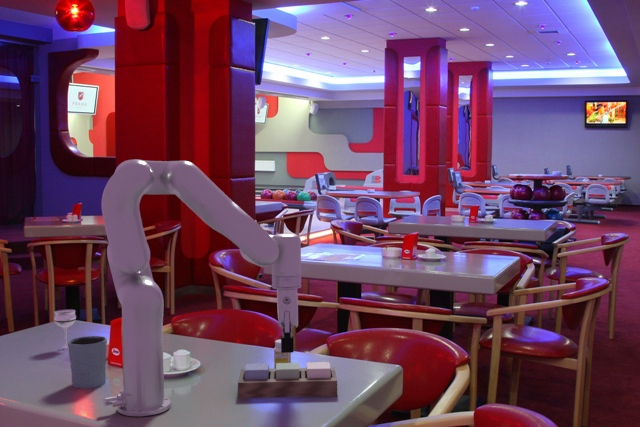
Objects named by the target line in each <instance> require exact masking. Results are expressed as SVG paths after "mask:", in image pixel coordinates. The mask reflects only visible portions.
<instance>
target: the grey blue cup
mask: <svg viewBox="0 0 640 427" xmlns="http://www.w3.org/2000/svg"><path fill="white" fill-rule="evenodd" d="M107 345H108V338H107V337H105V336H99V335H95V336H94V335H92V336H91V335H90V336H81V337H79V336H78V337H75V338H72V339H70V340H68V341H67V346H68V349H69V350H68V356H69V363H70V369H71V371H70V372H71V383H72V387H73V388H76V389H82V390H83V389H84V390H85V389H95V388H99V387H102V386H103V385H105V384H106V380H107V379H106V378H107V377H106V376H107V374H106V368H107V367H106V365H107V362H106V360H107Z"/></svg>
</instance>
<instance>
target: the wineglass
mask: <svg viewBox="0 0 640 427" xmlns="http://www.w3.org/2000/svg"><path fill="white" fill-rule="evenodd" d="M53 313H54V316H53V319H54V320H53V321H54V323H55V324H56V325H57V326H58V327H61V328H62V329H63V330H64V345H63V346H62V347H63V348H67V347H68V341H67V340H68V339H67V335H68V334H67V333H68V331H67V330H68V329H69V327H71V326H73V324H75V322H76V320H77V315H76V310H75V309H72V308H71V309H68V308H67V309H59V310H55V311H53Z"/></svg>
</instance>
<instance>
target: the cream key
mask: <svg viewBox="0 0 640 427" xmlns="http://www.w3.org/2000/svg"><path fill="white" fill-rule="evenodd" d="M330 367H331V365H330V362H329V361H323V362H321V361H320V362H319V361H318V362H314V361H313V362H306V368H307V378H331V368H330Z"/></svg>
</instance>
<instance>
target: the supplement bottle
mask: <svg viewBox="0 0 640 427" xmlns="http://www.w3.org/2000/svg"><path fill="white" fill-rule="evenodd" d="M274 346H275V347H274V348H273V355H274V356H273V365H274V366H273V367H274V368H273V369H276V363H292V361H291V354H292V353H282V352H281V338H280V339H276V340H275V341H274Z"/></svg>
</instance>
